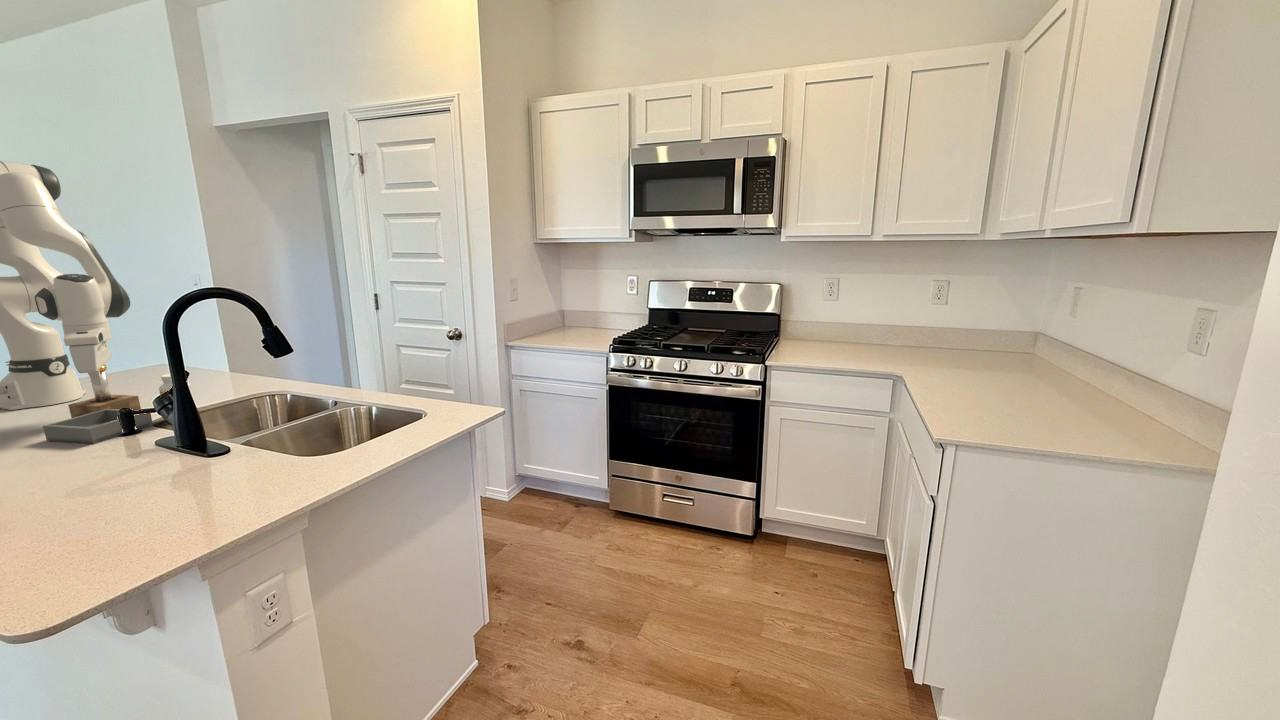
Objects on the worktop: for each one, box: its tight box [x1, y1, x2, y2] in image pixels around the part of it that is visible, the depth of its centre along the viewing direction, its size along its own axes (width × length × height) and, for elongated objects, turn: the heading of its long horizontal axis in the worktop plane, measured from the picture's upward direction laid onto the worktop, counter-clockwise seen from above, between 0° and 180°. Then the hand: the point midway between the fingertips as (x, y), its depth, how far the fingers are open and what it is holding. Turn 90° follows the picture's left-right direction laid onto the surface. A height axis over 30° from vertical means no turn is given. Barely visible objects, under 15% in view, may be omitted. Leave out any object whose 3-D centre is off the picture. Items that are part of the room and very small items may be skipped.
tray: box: [42, 409, 154, 445], centre depth 135 cm, size 14×14×4 cm
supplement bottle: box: [158, 373, 193, 397], centre depth 146 cm, size 7×7×13 cm
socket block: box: [67, 394, 142, 419], centre depth 148 cm, size 10×10×5 cm
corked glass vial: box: [89, 364, 112, 403], centre depth 146 cm, size 4×4×12 cm
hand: (99, 382), depth 146 cm, fingers closed on corked glass vial, 3 cm apart
